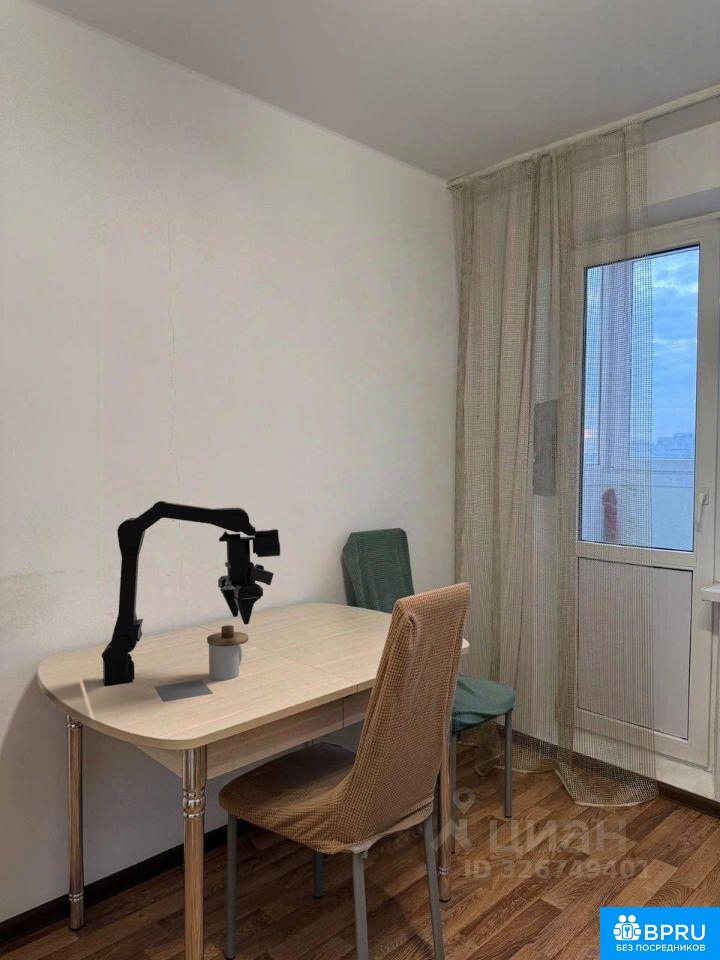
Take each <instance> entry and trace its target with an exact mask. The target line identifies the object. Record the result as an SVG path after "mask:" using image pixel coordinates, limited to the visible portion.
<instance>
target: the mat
mask: <svg viewBox="0 0 720 960" xmlns="http://www.w3.org/2000/svg"><path fill="white" fill-rule="evenodd" d="M154 688H155V690H156V693H157V694H158V695H159V696H160V698H161V700H162V701H163V703H165V702H170V701H171V702H172V701H177V700H183V699H188V698H194V697H200V696H206V695H213V694H214V692H213V691H211V689H210V688H209V687H208V685H206V683H205V682H204V681H203V679H201V678H200V679H195V680H189V681H182V682H176V683H175V682H174V683H170V684H169V683H168V684H163V685H161V684H160V685H157V686H156V685H155V686H154Z"/></svg>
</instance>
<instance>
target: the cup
mask: <svg viewBox="0 0 720 960" xmlns="http://www.w3.org/2000/svg"><path fill="white" fill-rule="evenodd" d="M241 645H242V644H240V645H235V646H213V645H210V644H208V666H209V667H208V668H209V669H208V670H209V671H208V674H209V675H208V676H209V679H211V680H214V681H229V680H234V679H237V678H238V677H239V675H240V665H241V663H242V659H243V649H242V646H241Z"/></svg>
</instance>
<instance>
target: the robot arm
mask: <svg viewBox="0 0 720 960" xmlns="http://www.w3.org/2000/svg"><path fill="white" fill-rule="evenodd" d="M161 519H171V520H178V521H179V520H180V521H186V522H193V523H200V524H208V525H211V526H214V527H218V528H221V529H224V530H225V531H224V532H223V534H222V535H221V536H219V538H218V541H219V542H223V543H224V542H226V561H225V562H224V566H225V567H226V568H227V575H221V576H220V577H219V578H218V580H217V585H218V586H217V587H218V588H219V591H220V592H221V594H222V597H223V598H224V599H225V602H226V605H227V607H228V608H229V611H230V613H231V616H232V617H233V618H237V617H238V616H239V615H240V617H241V620H242V622H243V625H245V626H246V625H249V624H250V620H251V616H252V613H253V609H254V605H255V603H256V602H257V601H258V600H261V598H262V597H263V596H264V588H263V587H262V586H261V585H260V584H258V583H263V584H265V585H267V586H271V584H272V581H273V578H274V572H272V571H270V570H266V569H265V567H264V565H262V564H258V563H256V564H255V563H254V562H253V561H251V543H252V554H255V555H256V556H257V558H265V557H266V558H268V557H269V558H270V557H280V556H281V542H280V539H279V538H280V535H279V529H278V528H272V529H270V530H269V529H268V530H267V529H266V530H257V529H256V527H255V526H253V524H252V523H251V522H250V517H249V515H248V512H247V511H246V510H245V509H244V508H242V507H219V508H210V507H204V506H202V507H201V506H195V505H188V504H179V503H174V502H167V501H165V500H159V501H157V502H155V503H154V504H153V505H152V506H151V507H150V508H149V509H147V510H146V511H144V512H143V513H141V514H140V515H139V516H137V517H129V518H128V519H125V520H124V521H123V522H121V523H120V524H119V525H118V527H117V540H118V547H119V551H120V555H121V564H120V577H119V578H120V580H119V599H118V615H117V618H116V622H115V625H114V628H113V633H112V636H111V640H110V642H109V643H107V645H106V647H104V648H105V649H104V650H103V652H102V653H101V658H102V679H101V681H102V683H103V685H104V687H111V686H117V685H119V686H120V685H126V684H131V683H134V679H135V662H134V660H133V658H132V655H131V654H130V653H131V652H133V651H134V649H135V647H136V646H137V644H138V642H139V643H140V640H141V638H142V636H143V632H142V626H143V623H144V618H139V619H138V616H137V611H136V609H137V597H138V596H137V595H138V591H137V590H138V577H139V559H140V554H141V549H142V546H143V543H144V539H145V534H146V530H148V529H149V528H151V526H153V525H155V524H156V523H157V522H158V521H160V520H161ZM228 531H230V532H232V533H229V532H228ZM241 533H242V534H244V535H247V536H241ZM250 541H252V542H250ZM256 582H258V583H256Z"/></svg>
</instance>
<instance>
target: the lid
mask: <svg viewBox="0 0 720 960" xmlns="http://www.w3.org/2000/svg"><path fill="white" fill-rule="evenodd" d="M248 641H249V635H248V633H245V632H242V631H235V628H234V625H232V624H231V625H229V624H228V625H222V626H221V632H215V633H213V634H210V635H208V636H207V637H206V643H207V644H208V645H209V644H210V645H213V646H235V645H243V644H245V643H248Z"/></svg>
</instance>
